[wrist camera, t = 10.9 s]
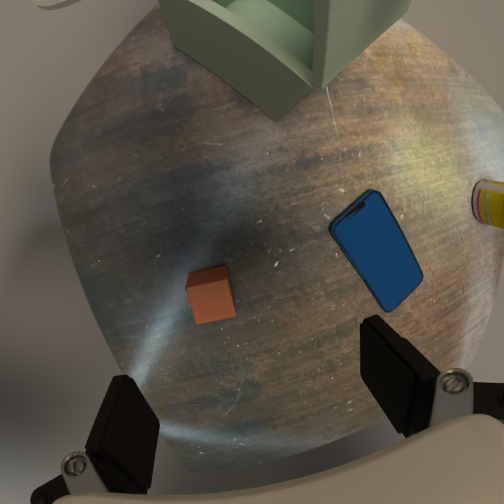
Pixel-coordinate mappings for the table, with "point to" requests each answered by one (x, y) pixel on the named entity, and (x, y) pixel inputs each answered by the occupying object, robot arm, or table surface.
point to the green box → (250, 46)
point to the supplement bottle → (489, 202)
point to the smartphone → (378, 249)
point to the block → (211, 295)
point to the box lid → (348, 32)
